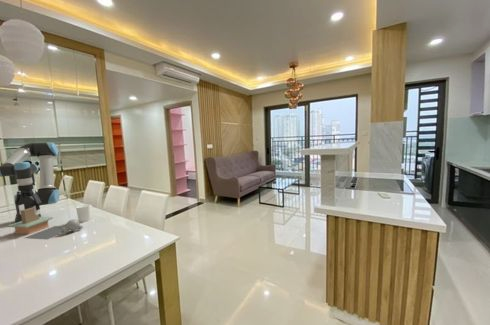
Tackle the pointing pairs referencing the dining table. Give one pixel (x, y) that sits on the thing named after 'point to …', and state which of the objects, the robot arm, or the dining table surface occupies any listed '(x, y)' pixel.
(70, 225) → the round bodied animal figurine
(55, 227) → the mat
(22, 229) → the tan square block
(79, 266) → the dining table surface
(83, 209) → the candle holder
